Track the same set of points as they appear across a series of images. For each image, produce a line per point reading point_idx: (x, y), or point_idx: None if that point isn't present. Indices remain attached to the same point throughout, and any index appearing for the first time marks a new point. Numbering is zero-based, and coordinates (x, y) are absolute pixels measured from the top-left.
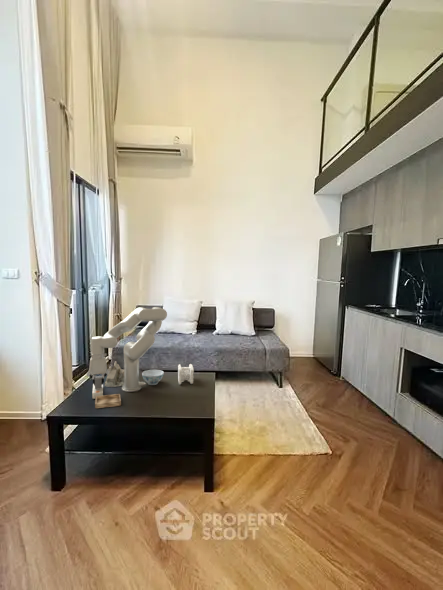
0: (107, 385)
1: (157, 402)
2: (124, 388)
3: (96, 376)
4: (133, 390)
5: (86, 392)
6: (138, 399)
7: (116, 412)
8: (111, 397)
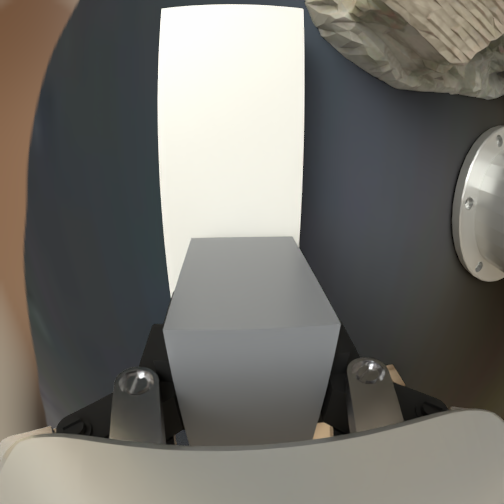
0: (344, 44)
1: (482, 404)
2: (472, 228)
3: (204, 348)
4: (496, 279)
5: (106, 175)
6: (455, 383)
7: None
8: None
